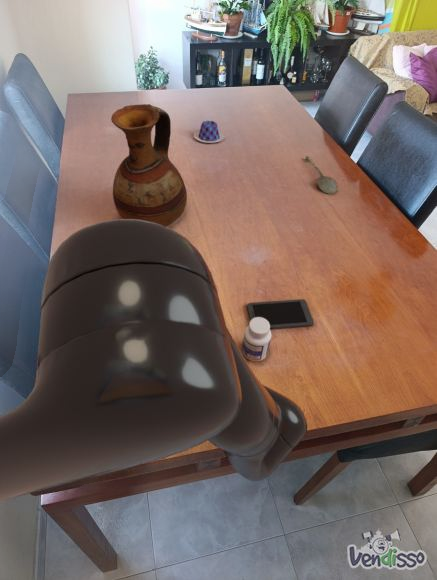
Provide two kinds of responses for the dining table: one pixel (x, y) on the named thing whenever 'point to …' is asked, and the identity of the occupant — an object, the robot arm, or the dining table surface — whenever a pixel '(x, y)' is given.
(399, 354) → the dining table surface
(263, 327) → the pill bottle
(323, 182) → the soupspoon
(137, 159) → the ceramic pitcher
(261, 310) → the cell phone
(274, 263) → the dining table surface
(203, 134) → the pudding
